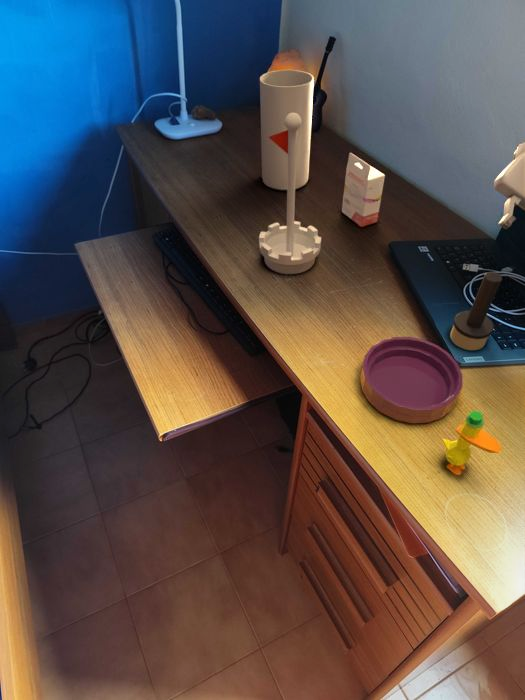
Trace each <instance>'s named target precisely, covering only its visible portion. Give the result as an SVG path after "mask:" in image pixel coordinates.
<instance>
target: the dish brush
mask: <svg viewBox="0 0 525 700" xmlns="http://www.w3.org/2000/svg"><path fill="white" fill-rule="evenodd" d="M502 281H503V277H502V275H501V274H499V273H498V272H495V271H488V272H485V274H484V275H483V278H482V281H481V283H480V286H479V288H478V291H477V293H476V295H475V298H474V301H473V303H472V305H471V308H470V310H464V311H461V312H458V313H457V314H456V315H455V316H454V319H453V325H452V328H451V331H450V334H449V338H450V340H451V342H452V343H453V344H454V345H455V346H457V347H458V348H461V349H463V350H466V351H478V350H481V349H483V348H484V346H485V345H486V343H487V340H488V339H489V336H491V334H492V333H493V330H494V323H493V321H492V319H490V318H489V317H488V316H487V315H488V312H489V310H490V308H491V306H492V303H493V301H494V299H495V296H496V294H497V292H498V290H499V288H500V286H501V283H502Z"/></svg>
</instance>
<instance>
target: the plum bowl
mask: <svg viewBox="0 0 525 700" xmlns="http://www.w3.org/2000/svg"><path fill="white" fill-rule="evenodd" d="M463 381H464V379H463V373H462V370H461V368H460V366H459V363H458V362H457V361H456V360H455V359H454V358H453V356H452V355H451V354H450V353H449V352H448V351H446V350H445V349H444V348H442V347H440V345H438V344H435V343H432V342H430V341H428V340H425V339H423V338H417V337H413V336H393V337H389V338H386V339H382V340H380V341H378V342H377V343H375V344H374V345H372V346H371V347H370V348H369V349H368V351H367V352H366V353H365V355H364V358H363V363H362V367H361V373H360V377H359V383H360V387H361V391H362V393H363V394H364V396H365V398H366V399H367V401H368V403H369V404H370V405H372V406H373V407H374V408H375V409H376V410H377V411H379V412H380V413H382V414H384V415H386V416H387V417H390V418H391V419H394V420H395V421H400V422H405V423H409V424H427V423H431V422H434V421H437V420H440V419H442V418H444V417H445V416H446V415H447V414H448V413H450V412H451V411H452V410H453V408H454V406H455V405H456V404H455V403H456V401H457V399H458V398H459V395H460V393H461V391H462V390H463Z"/></svg>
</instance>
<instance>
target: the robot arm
mask: <svg viewBox="0 0 525 700" xmlns="http://www.w3.org/2000/svg"><path fill="white" fill-rule="evenodd" d="M512 158H513V160H511V162H510V163H509V164H508V165H507V166H506V167H505V168H504V169H503V170H502V171H501V172H500V173H499V175H498V176H497V177H496V178H495V179H494V182H493V186H494V190H495V191H497V192H498V193H500V194H501V195H502V196H503V197H505V198H507V199H506V201H505V202H504V205H503V206H504V207H503V216H502V217H501V219H500V220H499V222H498V225H499V226H500V227H502V228H503V229H505V230H508V229H509V228H510V227H511V226H512V225H513V223H514V222H515V221H516V220H517V217H516V216H514V210H515V209H514V208H515V207H516V206H518V207H519V208H521V209H522V210H524V211H525V141H523V142H521V143H520V144H519V145H518V146H517V148H516V149H515V151H514V153H513V157H512Z"/></svg>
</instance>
